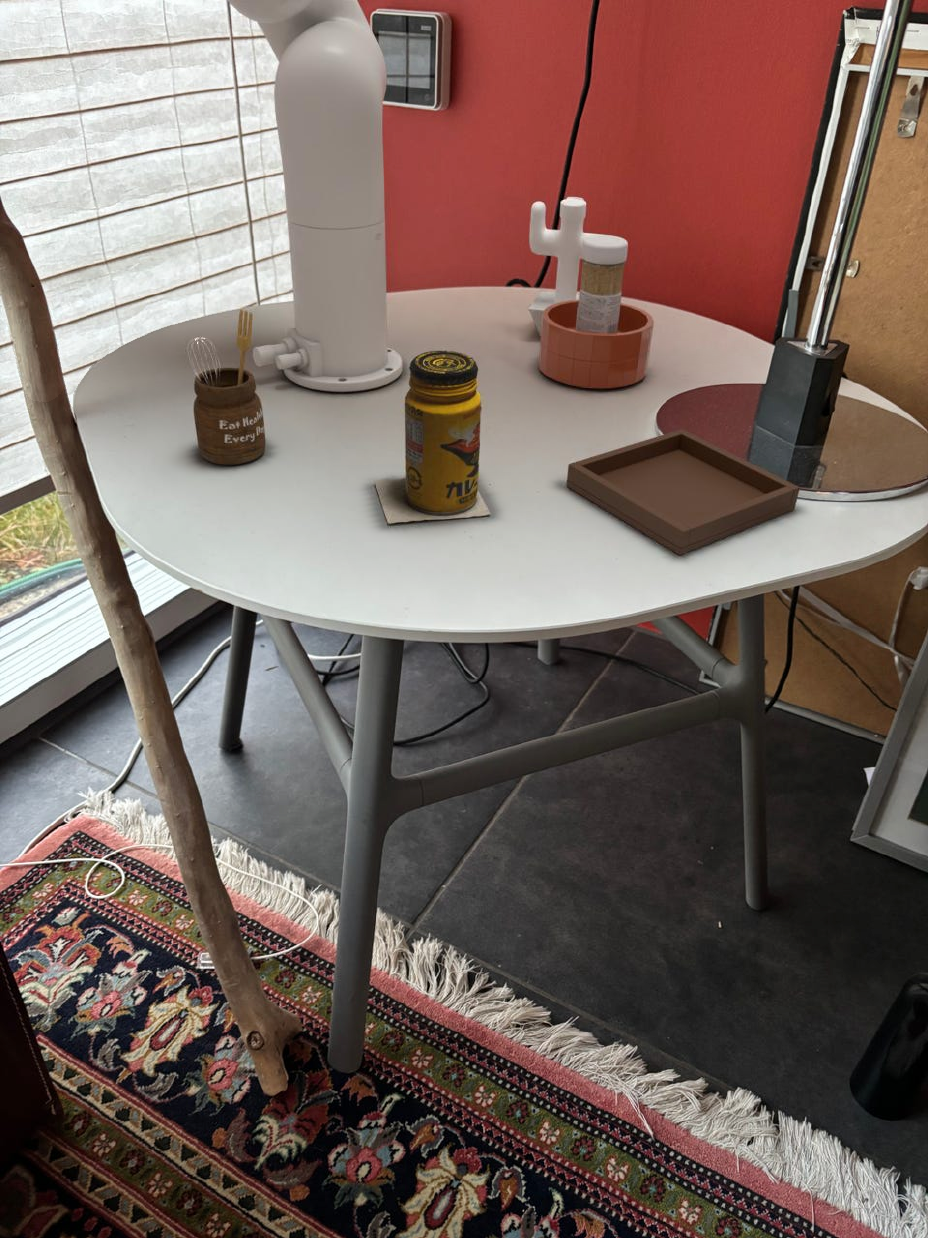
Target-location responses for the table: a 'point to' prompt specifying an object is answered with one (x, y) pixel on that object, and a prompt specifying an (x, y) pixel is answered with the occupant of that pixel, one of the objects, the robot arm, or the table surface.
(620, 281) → the sprinkles bottle
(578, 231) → the figurine
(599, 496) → the tray
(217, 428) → the utensil holder
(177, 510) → the table surface
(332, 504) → the table surface
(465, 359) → the condiment
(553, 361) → the bowl
